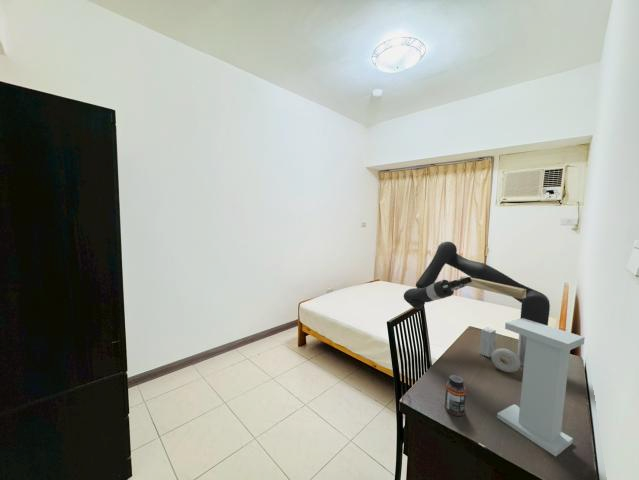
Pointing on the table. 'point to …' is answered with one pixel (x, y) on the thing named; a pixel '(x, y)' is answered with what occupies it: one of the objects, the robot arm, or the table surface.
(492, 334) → the skincare box
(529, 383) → the stand
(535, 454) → the table surface
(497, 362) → the donut
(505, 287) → the beige block
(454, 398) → the supplement bottle
